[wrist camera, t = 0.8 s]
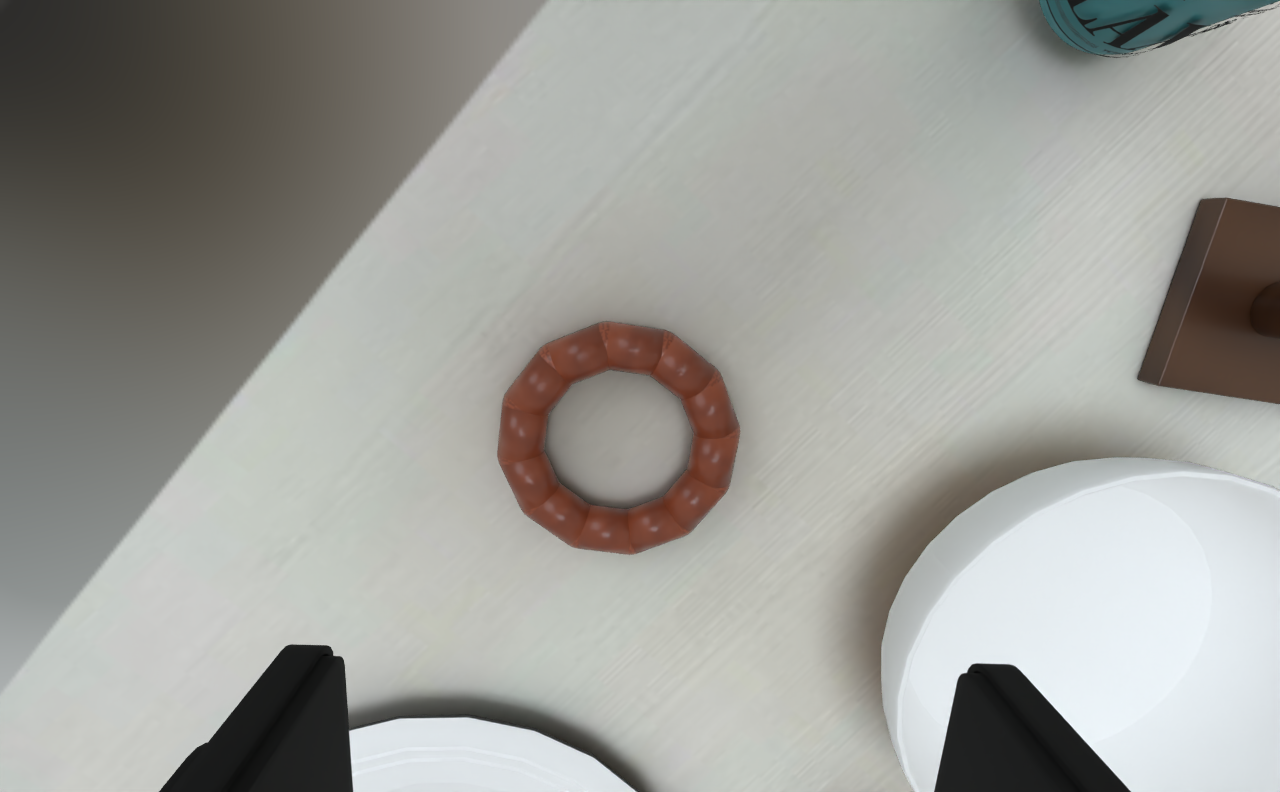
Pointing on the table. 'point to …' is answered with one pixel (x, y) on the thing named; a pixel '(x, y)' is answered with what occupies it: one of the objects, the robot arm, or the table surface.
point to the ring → (631, 354)
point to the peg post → (1223, 306)
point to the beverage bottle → (1137, 21)
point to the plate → (471, 758)
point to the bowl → (1106, 620)
